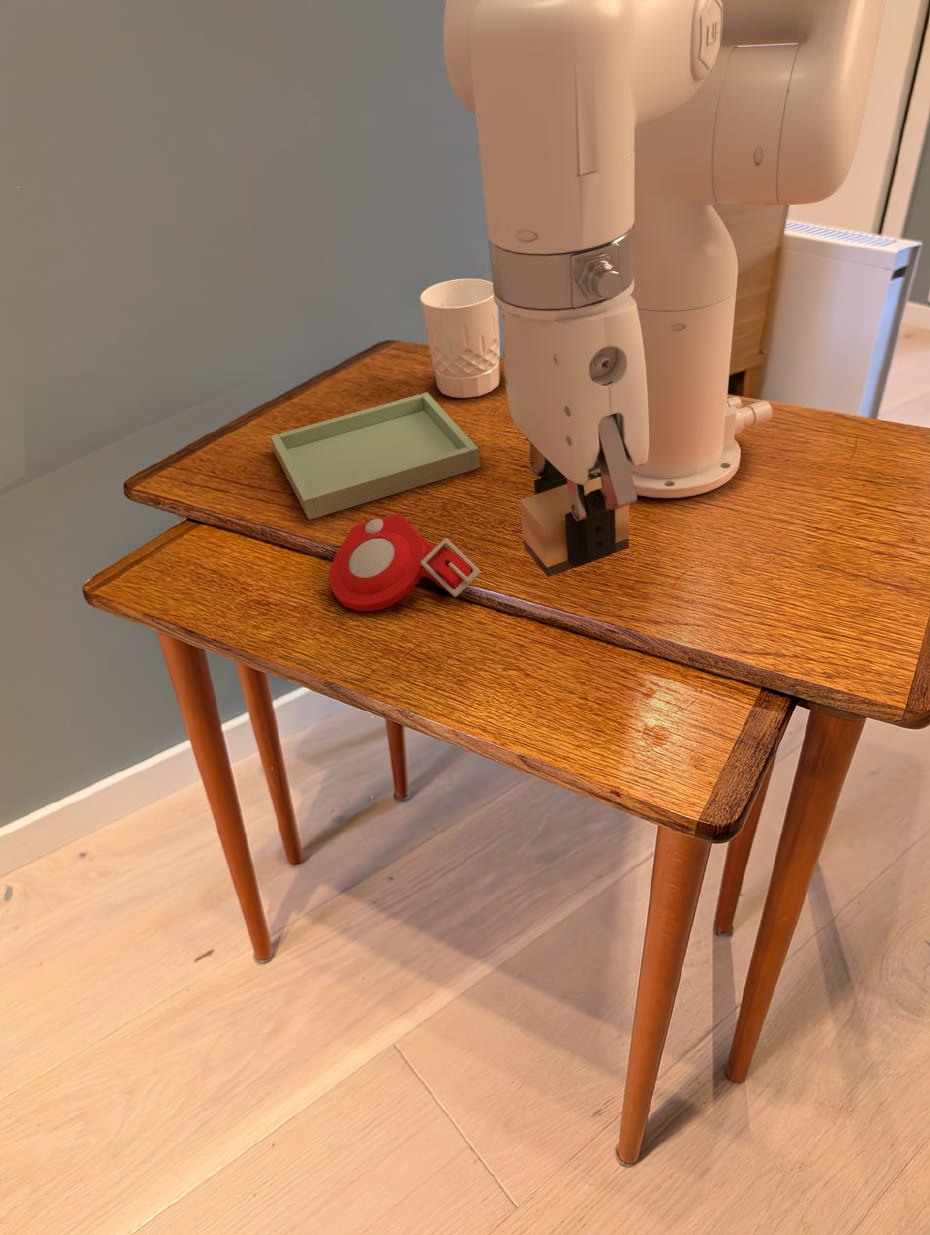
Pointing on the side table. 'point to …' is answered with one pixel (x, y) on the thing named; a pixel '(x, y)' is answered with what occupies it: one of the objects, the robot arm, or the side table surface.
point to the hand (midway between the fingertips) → (575, 538)
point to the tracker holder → (393, 564)
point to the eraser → (559, 527)
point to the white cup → (463, 336)
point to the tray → (373, 454)
